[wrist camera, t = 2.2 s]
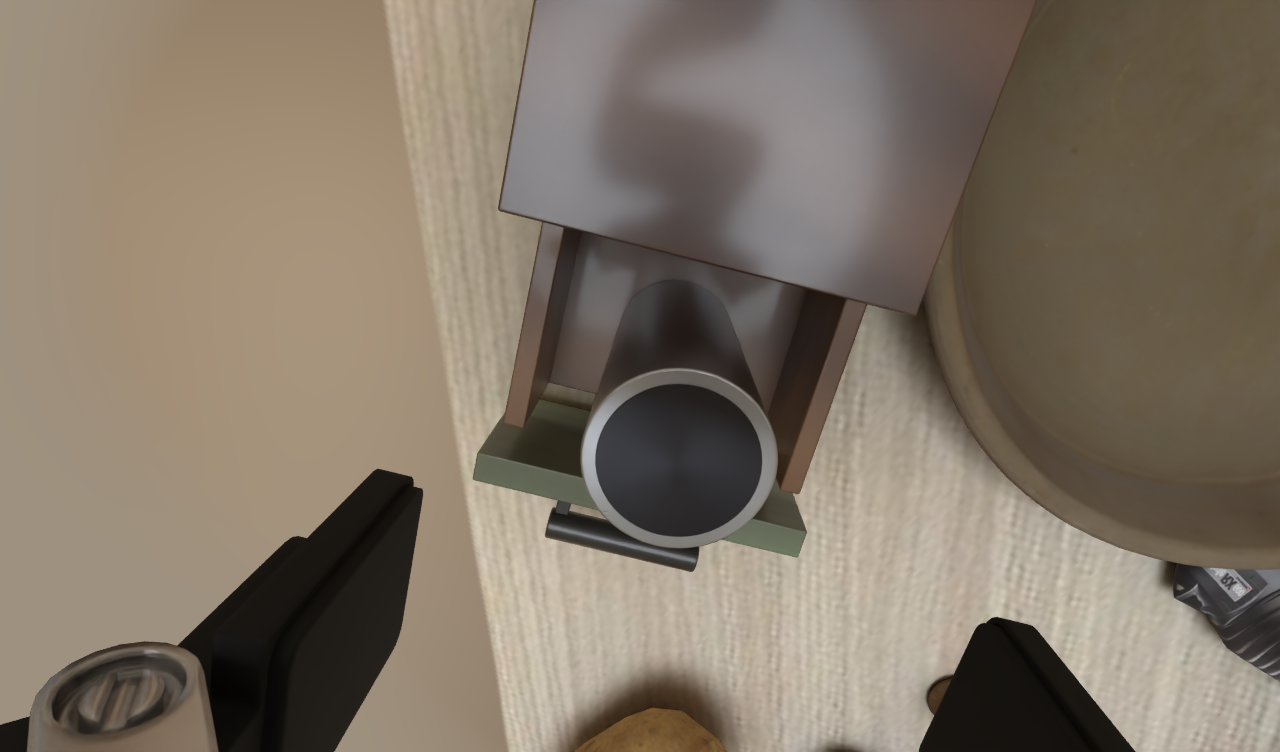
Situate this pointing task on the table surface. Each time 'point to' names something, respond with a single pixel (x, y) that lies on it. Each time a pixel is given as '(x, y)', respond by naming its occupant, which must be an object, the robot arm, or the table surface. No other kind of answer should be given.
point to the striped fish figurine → (1237, 609)
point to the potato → (654, 734)
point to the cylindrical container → (678, 424)
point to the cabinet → (763, 131)
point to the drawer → (578, 352)
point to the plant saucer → (1128, 277)
